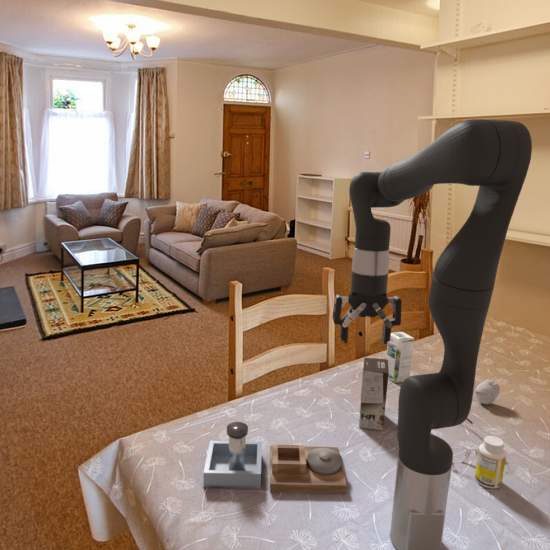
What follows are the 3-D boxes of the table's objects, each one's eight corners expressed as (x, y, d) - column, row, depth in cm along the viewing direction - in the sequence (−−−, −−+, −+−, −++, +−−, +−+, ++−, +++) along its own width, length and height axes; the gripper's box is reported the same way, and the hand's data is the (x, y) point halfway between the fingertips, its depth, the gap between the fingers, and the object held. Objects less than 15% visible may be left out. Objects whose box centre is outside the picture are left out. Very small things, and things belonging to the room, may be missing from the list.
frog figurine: (502, 406, 148) (506, 383, 146) (483, 410, 146) (486, 387, 144) (487, 396, 154) (490, 374, 152) (468, 400, 151) (471, 378, 149)
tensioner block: (346, 493, 109) (347, 474, 108) (270, 492, 109) (270, 473, 108) (337, 454, 123) (339, 437, 121) (270, 453, 122) (270, 435, 121)
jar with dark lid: (246, 475, 113) (247, 433, 110) (225, 474, 113) (225, 433, 110) (247, 462, 118) (248, 422, 115) (227, 461, 117) (227, 421, 115)
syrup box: (383, 376, 165) (387, 333, 161) (398, 373, 167) (403, 330, 164) (394, 383, 160) (399, 339, 156) (410, 380, 162) (414, 337, 159)
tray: (260, 488, 110) (260, 474, 109) (203, 487, 110) (203, 472, 109) (261, 455, 121) (261, 441, 120) (209, 454, 121) (209, 440, 120)
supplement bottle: (493, 473, 117) (499, 433, 115) (506, 489, 112) (513, 447, 109) (469, 474, 117) (475, 433, 114) (481, 490, 111) (488, 448, 109)
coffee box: (383, 431, 133) (389, 373, 129) (358, 427, 135) (362, 370, 131) (383, 413, 142) (388, 358, 138) (359, 410, 143) (364, 356, 139)
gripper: (338, 273, 104) (334, 348, 108) (409, 274, 105) (402, 349, 109) (333, 264, 112) (329, 335, 116) (399, 266, 112) (393, 337, 116)
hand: (364, 342), depth 112 cm, fingers open, 8 cm apart
